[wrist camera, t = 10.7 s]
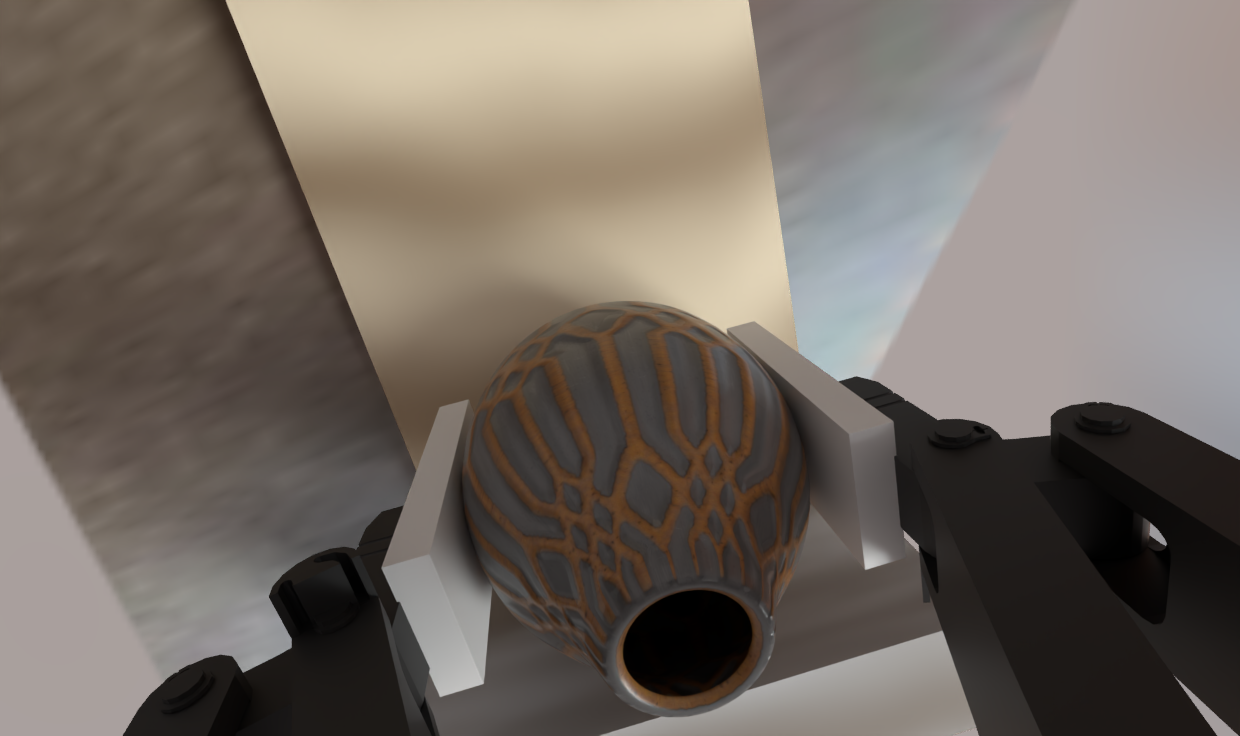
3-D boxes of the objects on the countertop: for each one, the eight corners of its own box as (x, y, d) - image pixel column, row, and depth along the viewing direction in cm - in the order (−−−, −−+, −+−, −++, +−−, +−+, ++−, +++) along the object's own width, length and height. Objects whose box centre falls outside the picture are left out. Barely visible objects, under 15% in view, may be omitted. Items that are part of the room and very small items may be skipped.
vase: (506, 247, 15) (474, 357, 6) (769, 308, 16) (1016, 462, 8) (456, 498, 17) (384, 830, 8) (695, 533, 18) (833, 846, 10)
